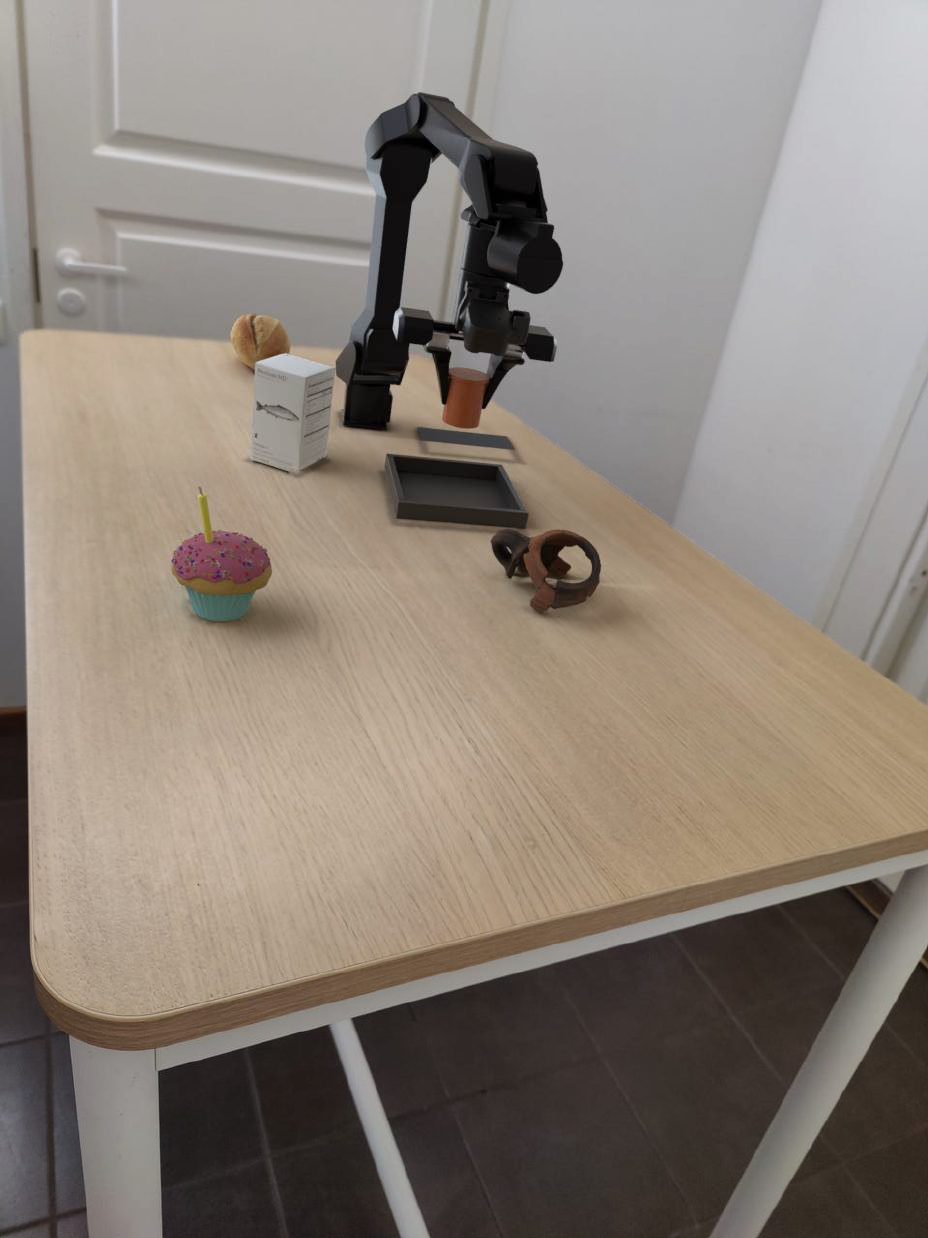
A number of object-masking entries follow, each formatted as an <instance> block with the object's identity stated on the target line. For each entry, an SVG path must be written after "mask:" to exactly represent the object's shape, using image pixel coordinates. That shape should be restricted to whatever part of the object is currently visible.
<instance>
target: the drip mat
mask: <svg viewBox="0 0 928 1238" xmlns="http://www.w3.org/2000/svg"><path fill="white" fill-rule="evenodd" d="M416 429H417V433H418V436H419V438H420V441H421V442H431V443H441V444H452V445H462V446H471V447H480V448H490V449H499V450H508V451H509V450H511V451H515V448H514V445H513V444H512V443H511V441H510V439H509V437H508V436H506V435H499V434H488V433H478V432H469V431H459V430H449V429H440V428H431V427H420V426H417V428H416Z"/></svg>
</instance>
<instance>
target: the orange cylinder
mask: <svg viewBox="0 0 928 1238" xmlns="http://www.w3.org/2000/svg"><path fill="white" fill-rule="evenodd" d="M486 373H487V372H486ZM486 373H485V372H484V371H481V370H478V369H473V368H471V367H470V368H469V367H464V366H463V367H460V366H455V367H449V380H448V395H447V400H446V404H445V405H443V410H442V418H441V420H442V422H443V423H445V424H446V425H449V426H451V427H455V428H458V429H465V430H466V429H467V430H470V429H477V428H478V427H479V426H480V421H481V417H482V410H483V409H482V405H483V400H484V394H485V389H486V383H488V382H489V381H490V377H489V375H487V374H486Z"/></svg>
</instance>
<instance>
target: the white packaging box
mask: <svg viewBox="0 0 928 1238" xmlns="http://www.w3.org/2000/svg"><path fill="white" fill-rule="evenodd" d="M335 376H336V366H332V365H328V364H325V363H321V362H317V361H313V360H311V359H307V358H303V357H300V356H297V355H293V354H290V353H289V354H286V353H285V354H280V355H277V356H274V357H271V358H267V359H264V360H261V361H258V362H256V363H255V370H254V379H253V380H254V382H253V398H252V416H251V434H250V435H251V436H250V451H249V460H250V461H253V462H258V463H261V464H264V465H267V466H270V467H274V468H277V469H279V470H283V471H286V472H290V469H292V470H295V471H301V470H303V469H305V468H307V467H309V466H311V465H313V464H315V463H316V462H318V461H320V460H322V459H324V458H326V457H327V454H328V453H327V451H328V442H329V435H330V426H331V425H330V424H331V415H332V414H331V412H332V405H333V404H332V403H333V395H334V394H333V393H334V385H335Z"/></svg>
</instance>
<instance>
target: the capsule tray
mask: <svg viewBox="0 0 928 1238" xmlns="http://www.w3.org/2000/svg"><path fill="white" fill-rule="evenodd" d="M384 461H385V462H384V471H385V472H384V473H385V476H386V480H387V484H388V490H389V493H390V497H391V501H392V505H393V510H394V515H395V519H398V520H399V519H400V520H411V521H423V522H435V523H447V524H449V523H450V524H461V525H471V526H472V525H473V526H484V527H485V526H486V527H497V528H507V529H522V530H525V529H526V527H527V523H528V519H529V511H528V510H527V507H526V506H525V504H524V502H523V500H522V499H521V497H520V495H519V493H518V490H516V489H517V488H516V487H515V486H514V484H513V482H512V480H511V478H510V477H509V475H508V473H507V471H506V469H505V467H504V465H503V464H499V463H489V462H479V461H467V460H457V459H448V458H437V457H428V456H427V457H426V456H416V455H407V454H397V453H396V454H395V453H385V460H384Z"/></svg>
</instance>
